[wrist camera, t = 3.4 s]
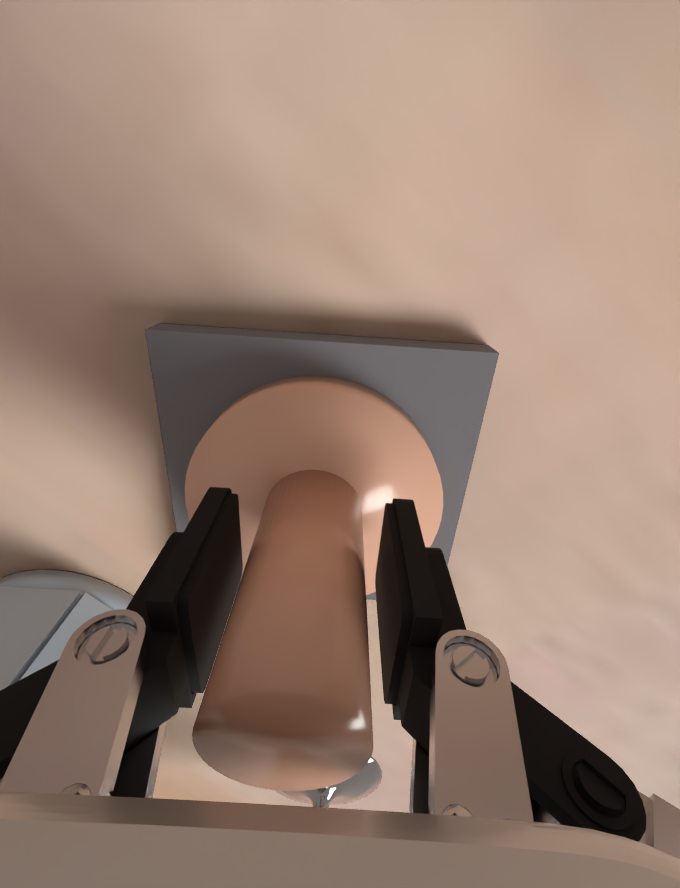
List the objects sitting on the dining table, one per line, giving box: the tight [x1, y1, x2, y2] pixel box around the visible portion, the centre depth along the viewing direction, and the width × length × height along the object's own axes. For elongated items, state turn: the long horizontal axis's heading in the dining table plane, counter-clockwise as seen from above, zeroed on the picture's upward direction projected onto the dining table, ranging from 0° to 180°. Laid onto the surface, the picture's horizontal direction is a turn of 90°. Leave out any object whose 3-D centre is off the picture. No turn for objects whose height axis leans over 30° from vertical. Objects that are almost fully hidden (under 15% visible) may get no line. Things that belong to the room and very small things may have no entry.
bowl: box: [0, 570, 133, 690], centre depth 17 cm, size 9×9×5 cm
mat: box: [145, 323, 499, 600], centre depth 14 cm, size 10×10×1 cm
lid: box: [185, 376, 443, 791], centre depth 10 cm, size 8×8×8 cm
